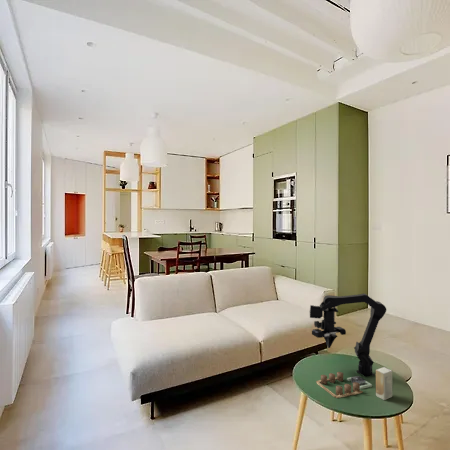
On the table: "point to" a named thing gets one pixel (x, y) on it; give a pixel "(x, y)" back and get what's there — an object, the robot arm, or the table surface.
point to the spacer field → (338, 388)
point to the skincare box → (384, 383)
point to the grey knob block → (358, 380)
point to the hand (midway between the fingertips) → (328, 347)
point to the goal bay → (362, 385)
